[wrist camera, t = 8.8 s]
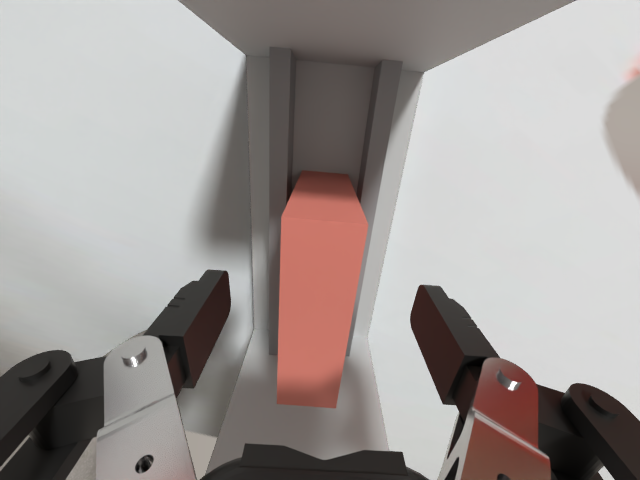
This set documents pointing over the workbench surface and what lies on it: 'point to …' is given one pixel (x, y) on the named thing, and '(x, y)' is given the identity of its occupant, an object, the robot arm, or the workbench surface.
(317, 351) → the red rectangular block
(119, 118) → the workbench surface
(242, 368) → the u-shaped grey holder
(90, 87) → the workbench surface
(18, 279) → the workbench surface
